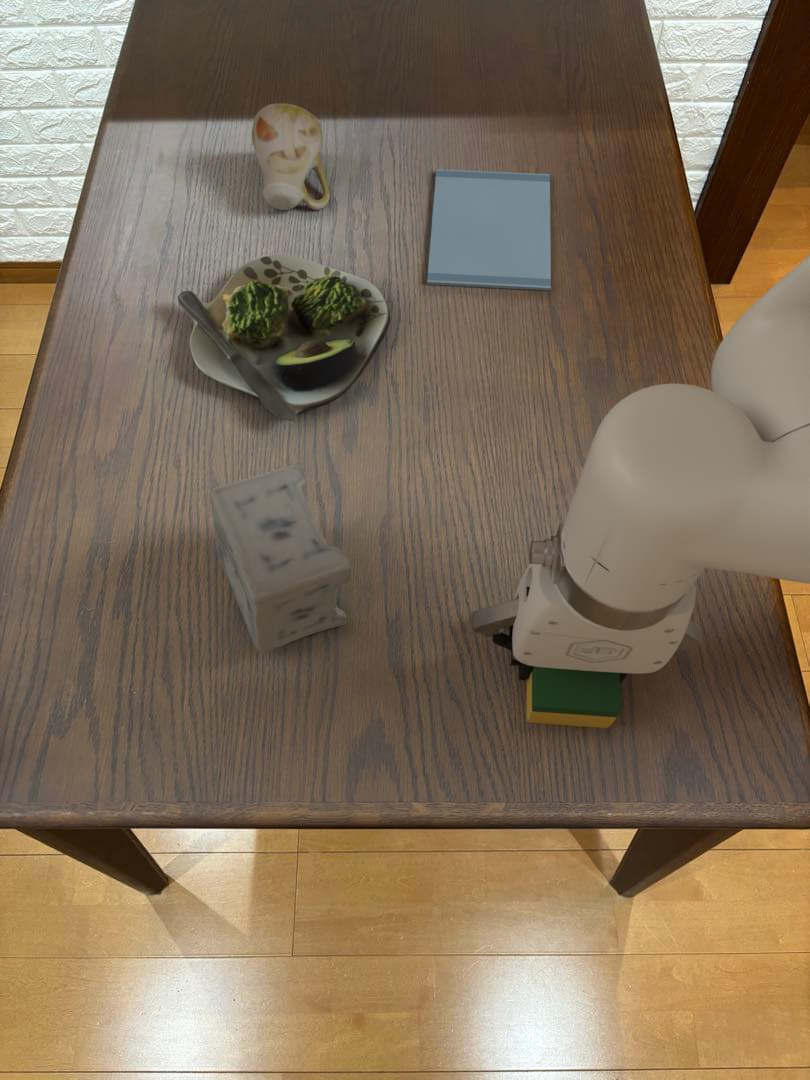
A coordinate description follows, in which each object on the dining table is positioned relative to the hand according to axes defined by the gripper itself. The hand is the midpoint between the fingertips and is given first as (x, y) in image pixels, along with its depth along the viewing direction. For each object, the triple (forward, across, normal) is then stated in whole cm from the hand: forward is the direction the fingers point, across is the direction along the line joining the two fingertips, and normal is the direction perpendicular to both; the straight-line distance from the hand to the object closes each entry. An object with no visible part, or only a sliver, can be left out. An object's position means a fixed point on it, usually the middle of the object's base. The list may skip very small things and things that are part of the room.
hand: (568, 663), depth 62 cm
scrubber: (+1, 0, 0) cm, 1 cm away
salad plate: (+1, -25, +30) cm, 39 cm away
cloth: (+1, -7, +46) cm, 47 cm away
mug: (+1, -28, +51) cm, 58 cm away
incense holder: (+1, -22, +5) cm, 23 cm away
